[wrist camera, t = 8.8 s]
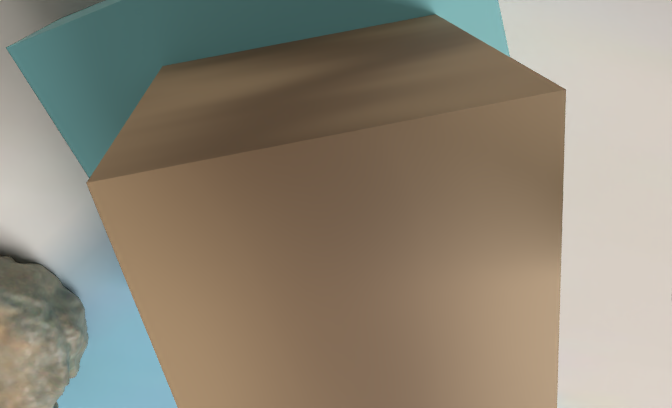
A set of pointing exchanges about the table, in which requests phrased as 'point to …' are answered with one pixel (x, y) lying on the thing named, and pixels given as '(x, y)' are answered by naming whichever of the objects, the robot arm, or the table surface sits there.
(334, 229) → the walnut block
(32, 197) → the table surface
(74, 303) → the long grey stone
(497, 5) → the teal plinth
